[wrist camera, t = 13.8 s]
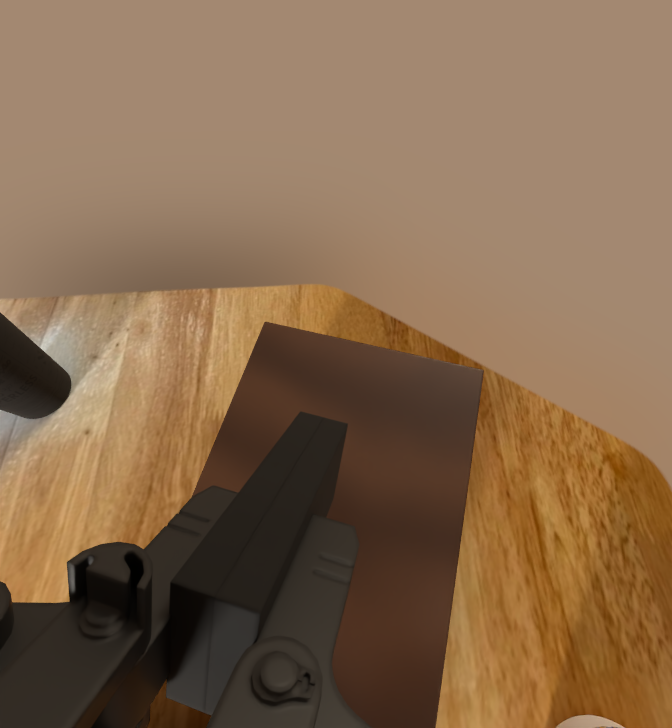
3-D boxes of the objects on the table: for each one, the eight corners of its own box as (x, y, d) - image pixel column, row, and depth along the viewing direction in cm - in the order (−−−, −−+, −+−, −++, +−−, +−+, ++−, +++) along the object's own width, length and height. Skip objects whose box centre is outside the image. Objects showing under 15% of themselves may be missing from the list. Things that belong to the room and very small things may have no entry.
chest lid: (267, 328, 25) (264, 321, 24) (480, 375, 23) (484, 369, 22) (139, 640, 18) (130, 642, 17) (428, 747, 16) (431, 755, 15)
